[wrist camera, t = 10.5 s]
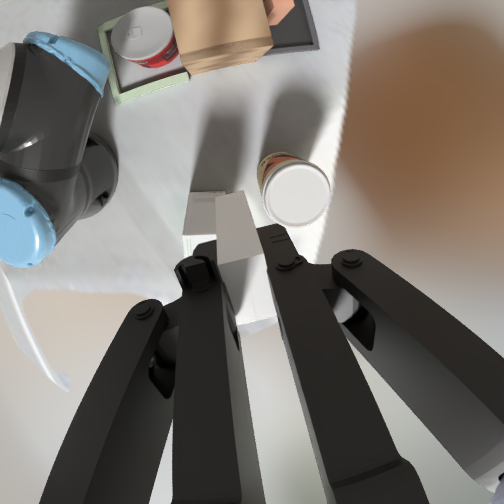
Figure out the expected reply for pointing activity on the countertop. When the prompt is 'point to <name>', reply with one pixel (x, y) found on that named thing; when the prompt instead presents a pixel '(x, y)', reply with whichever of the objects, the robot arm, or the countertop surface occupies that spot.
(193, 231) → the skincare box
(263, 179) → the coffee cup
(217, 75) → the countertop surface
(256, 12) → the tunnel
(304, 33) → the tray
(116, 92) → the bay
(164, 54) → the canned food
